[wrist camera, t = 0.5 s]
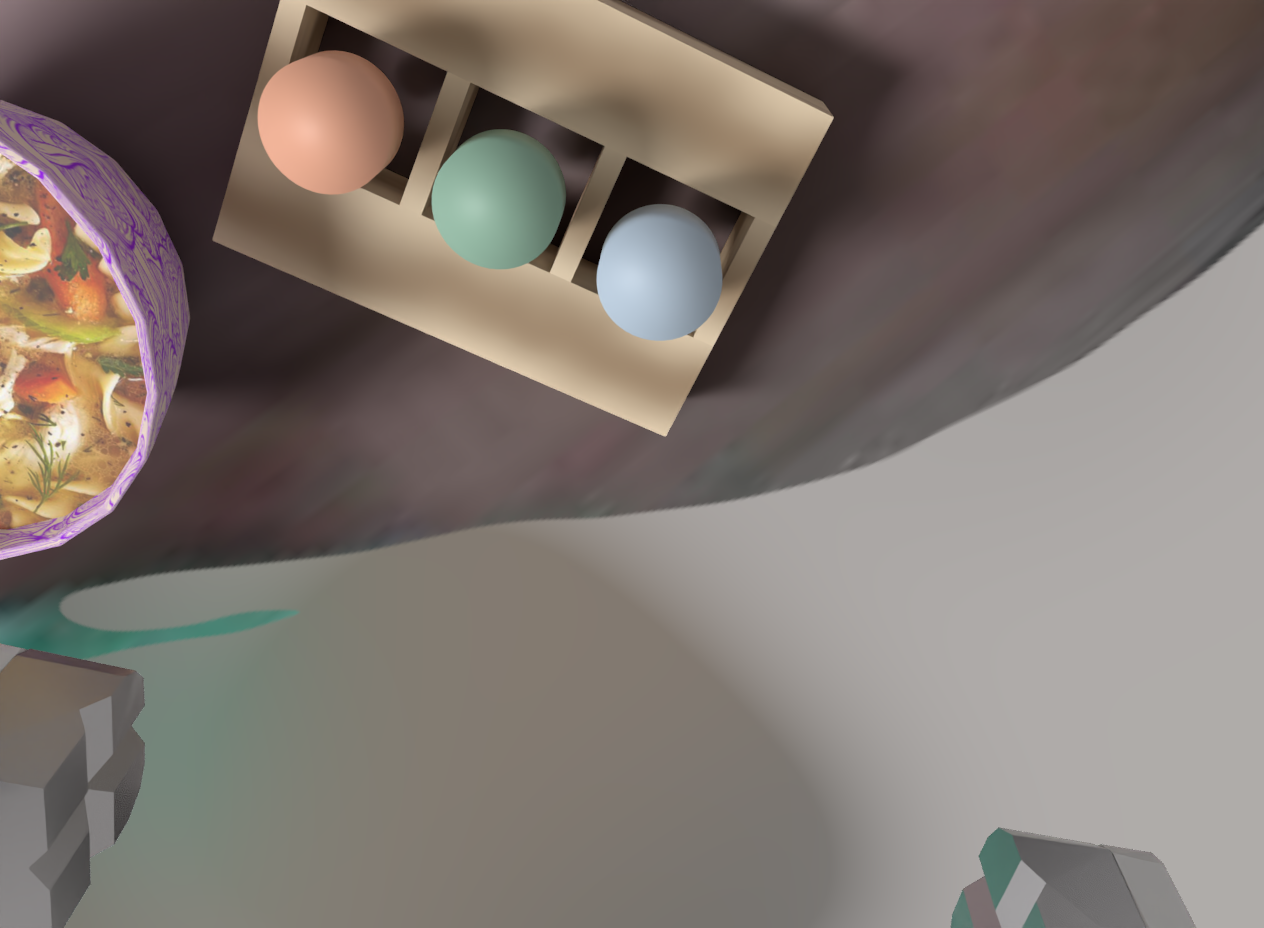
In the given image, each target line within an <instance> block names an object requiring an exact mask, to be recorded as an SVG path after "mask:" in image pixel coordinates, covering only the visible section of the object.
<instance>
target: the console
mask: <svg viewBox="0 0 1264 928" xmlns="http://www.w3.org/2000/svg"><path fill="white" fill-rule="evenodd" d="M329 16H331V17H333V18H335V19H338V20H340V21H342V22H344V23H346V24H348V25H350V26H352V27H354V28H357V29H359V30H361V31H363V32H365V33H367V34H369V35H371V36H373V37H376V38H378V39H380V40H382V41H384V42H386V43H388V44H390V45H392V46H395V47H397V48H399V49H401V50H403V51H405V52H407V53H409V54H411V55H414V56H416V57H418V58H420V59H422V60H424V61H426V62H428V63H430V64H433V65H435V66H437V67H439V68H441V69H443V70H445V71H447V74H446V77H445V80H444V83H443V86H442V88H441V91H440V94H439V97H438V99H437V102H436V105H435V108H434V111H433V113H432V116H431V119H430V122H429V124H428V127H427V130H426V133H425V136H424V138H423V141H422V144H421V147H420V149H419V152H418V155H417V158H416V161H415V163H414V166H413V169H412V172H411V174H410V177H409V179H407V178H405V177H403V176H401V175H398V174H396V173H394V172H392V171H390V170H387V169H385V168H384V169H383V170H382V171H381V172H379V173H378V174H377V175H376V176H375V177H374V178H373V179H372V180H370V181H369V182H368V183H367V184H365V185H364V186H362V187H361V188H359V189H356V190H354V191H351V192H348V193H344V194H333V195H329V194H321V193H317V192H313V191H310V190H307V189H305V188H303V187H301V186H299V185H297V184H295V183H294V182H292V181H291V180H289V179H288V178H287V177H286V176H285V175H284V174H282V173H281V171H280V170H279V169H278V168H277V167H276V166H275V165H274V163H273V162H272V161H271V159H270V157H269V156H268V154H267V152H266V150H265V148H264V146H263V143H262V140H261V137H260V133H259V128H258V107H259V102H260V98H261V95H262V93H263V90H264V88H265V87H266V85H267V83H268V82H269V80H270V79H271V78H272V77H273V76H274V75H275V74H276V73H277V72H278V71H279V70H280V69H282V68H283V67H285V66H286V65H288V64H290V63H292V62H295V61H297V60H300V59H302V58H305V57H307V56H309V55H312V54H315V53H318V50H319V47H320V43H321V40H322V37H323V34H324V30H325V27H326V24H327V20H328V17H329ZM479 87H481V88H483V89H485V90H487V91H489V92H492V93H494V94H496V95H498V96H500V97H502V98H504V99H506V100H508V101H511V102H513V103H515V104H517V105H519V106H521V107H523V108H525V109H527V110H530V111H532V112H534V113H536V114H538V115H540V116H542V117H544V118H546V119H549V120H551V121H553V122H555V123H557V124H559V125H561V126H563V127H565V128H568V129H570V130H572V131H574V132H576V133H578V134H580V135H582V136H584V137H587V138H589V139H591V140H593V141H595V142H597V143H599V144H601V145H603V147H602V150H601V152H600V154H599V156H598V159H597V161H596V163H595V166H594V168H593V170H592V172H591V175H590V177H589V179H588V182H587V184H586V186H585V189H584V191H583V193H582V195H581V198H580V200H579V202H578V205H577V207H576V209H575V211H574V214H573V216H572V218H571V221H570V223H569V225H568V227H567V230H566V232H565V234H564V237H563V239H562V241H561V244H560V246H559V247H557V246H555V245H552V244H549V245H548V247H547V248H546V249H545V250H544V251H543V252H542V253H541V254H540V255H539V256H538V257H537V258H535V259H534V260H532V261H530V262H529V263H527V264H524V265H522V266H519V267H516V268H511V269H489V268H484V267H480V266H478V265H475V264H473V263H471V262H469V261H467V260H465V259H464V258H462V257H461V256H459V255H458V254H457V253H456V252H455V251H453V250H452V249H451V248H450V246H449V245H448V244H447V243H446V242H445V240H444V239H443V237H442V236H441V234H440V232H439V230H438V228H437V226H436V223H435V220H434V216H433V212H432V191H433V186H434V182H435V179H436V177H437V175H438V172H439V171H440V169H441V167H442V166H443V164H444V163H445V162H446V161H447V160H448V159H449V157H450V156H451V155H452V154H453V153H454V152H455V151H456V148H457V146H458V143H459V140H460V138H461V135H462V132H463V130H464V127H465V124H466V122H467V119H468V116H469V114H470V111H471V108H472V106H473V103H474V100H475V98H476V95H477V92H478V90H479ZM833 118H834V117H833V115H832V114H831V113H830V111H829V110H828V108H827V107H826V105H825V104H824V103H823V101H821V100H819V99H817V98H815V97H812V96H810V95H808V94H806V93H804V92H802V91H800V90H798V89H796V88H794V87H792V86H790V85H788V84H786V83H784V82H782V81H780V80H778V79H776V78H774V77H772V76H770V75H768V74H766V73H764V72H762V71H760V70H758V69H756V68H754V67H752V66H750V65H748V64H746V63H744V62H742V61H740V60H738V59H736V58H734V57H732V56H730V55H728V54H726V53H724V52H722V51H720V50H718V49H716V48H714V47H712V46H710V45H708V44H706V43H704V42H702V41H700V40H698V39H696V38H694V37H692V36H690V35H688V34H686V33H684V32H682V31H680V30H678V29H676V28H674V27H672V26H670V25H668V24H666V23H664V22H662V21H660V20H658V19H656V18H654V17H652V16H650V15H648V14H646V13H644V12H642V11H640V10H638V9H636V8H634V7H632V6H630V5H628V4H626V3H624V2H622V1H620V0H280V3H279V6H278V10H277V13H276V17H275V20H274V24H273V27H272V31H271V34H270V38H269V41H268V45H267V49H266V52H265V56H264V59H263V63H262V66H261V70H260V73H259V77H258V80H257V84H256V87H255V91H254V94H253V98H252V101H251V105H250V108H249V112H248V116H247V119H246V123H245V126H244V130H243V133H242V137H241V140H240V144H239V147H238V151H237V154H236V158H235V161H234V165H233V168H232V172H231V175H230V179H229V183H228V186H227V190H226V193H225V197H224V200H223V204H222V207H221V211H220V214H219V218H218V221H217V225H216V228H215V232H214V235H213V239H212V241H214V242H217V243H219V244H221V245H224V246H226V247H228V248H231V249H233V250H235V251H238V252H240V253H242V254H244V255H247V256H249V257H251V258H254V259H256V260H258V261H261V262H263V263H265V264H268V265H270V266H272V267H274V268H277V269H279V270H281V271H284V272H286V273H288V274H291V275H293V276H295V277H298V278H300V279H302V280H304V281H307V282H309V283H311V284H314V285H316V286H318V287H321V288H323V289H325V290H328V291H330V292H332V293H335V294H337V295H339V296H341V297H344V298H346V299H348V300H351V301H353V302H355V303H358V304H360V305H362V306H365V307H367V308H369V309H371V310H374V311H376V312H378V313H381V314H383V315H385V316H388V317H390V318H392V319H395V320H397V321H399V322H402V323H404V324H406V325H408V326H411V327H413V328H415V329H418V330H420V331H422V332H425V333H427V334H429V335H432V336H434V337H436V338H438V339H441V340H443V341H445V342H448V343H450V344H452V345H455V346H457V347H459V348H462V349H464V350H466V351H468V352H471V353H473V354H475V355H478V356H480V357H482V358H485V359H487V360H489V361H492V362H494V363H496V364H499V365H501V366H503V367H505V368H508V369H510V370H512V371H515V372H517V373H519V374H522V375H524V376H526V377H529V378H531V379H533V380H535V381H538V382H540V383H542V384H545V385H547V386H549V387H552V388H554V389H556V390H559V391H561V392H563V393H565V394H568V395H570V396H572V397H575V398H577V399H579V400H582V401H584V402H586V403H589V404H591V405H593V406H596V407H598V408H600V409H602V410H605V411H607V412H609V413H612V414H614V415H616V416H619V417H621V418H623V419H626V420H628V421H630V422H632V423H635V424H637V425H639V426H642V427H644V428H646V429H649V430H651V431H653V432H656V433H658V434H660V435H662V436H665V437H666V435H667V433H668V431H669V429H670V428H671V426H672V424H673V422H674V420H675V418H676V416H677V414H678V412H679V410H680V409H681V407H682V405H683V403H684V401H685V399H686V397H687V395H688V393H689V392H690V390H691V388H692V386H693V384H694V382H695V380H696V378H697V376H698V374H699V373H700V371H701V369H702V367H703V365H704V363H705V361H706V359H707V357H708V355H709V354H710V352H711V350H712V348H713V346H714V344H715V342H716V340H717V338H718V337H719V335H720V333H721V331H722V329H723V327H724V325H725V323H726V321H727V319H728V318H729V316H730V314H731V312H732V310H733V308H734V306H735V304H736V302H737V300H738V299H739V297H740V295H741V293H742V291H743V289H744V287H745V285H746V283H747V281H748V280H749V278H750V276H751V274H752V272H753V270H754V268H755V266H756V264H757V263H758V261H759V259H760V257H761V255H762V253H763V251H764V249H765V247H766V245H767V244H768V242H769V240H770V238H771V236H772V234H773V232H774V230H775V228H776V226H777V225H778V223H779V221H780V219H781V217H782V215H783V213H784V211H785V209H786V208H787V206H788V204H789V202H790V200H791V198H792V196H793V194H794V192H795V190H796V189H797V187H798V185H799V183H800V181H801V179H802V177H803V175H804V173H805V171H806V170H807V168H808V166H809V164H810V162H811V160H812V158H813V156H814V154H815V153H816V151H817V149H818V147H819V145H820V143H821V141H822V139H823V137H824V135H825V134H826V132H827V130H828V128H829V126H830V124H831V122H832V120H833ZM627 157H629V158H631V159H633V160H635V161H637V162H639V163H641V164H644V165H646V166H648V167H650V168H652V169H654V170H656V171H658V172H660V173H663V174H665V175H667V176H669V177H671V178H673V179H675V180H677V181H679V182H682V183H684V184H686V185H688V186H690V187H692V188H694V189H696V190H698V191H701V192H703V193H705V194H707V195H709V196H711V197H713V198H715V199H717V200H720V201H722V202H724V203H726V204H728V205H730V206H732V207H734V208H736V209H739V210H741V211H742V212H741V214H740V216H739V218H738V220H737V222H736V224H735V226H734V228H733V230H732V232H731V234H730V236H729V238H728V240H727V242H726V243H725V245H724V247H723V249H722V251H721V253H720V259H721V269H722V290H721V295H720V298H719V301H718V303H717V306H716V308H715V309H714V311H713V313H712V314H711V316H710V317H709V318H708V319H707V320H706V321H705V322H704V323H703V324H702V325H701V326H700V327H699V328H697V329H696V330H695V331H693V332H691V333H689V334H688V335H685V336H683V337H680V338H676V339H673V340H665V341H654V340H647V339H643V338H639V337H637V336H634V335H632V334H630V333H628V332H626V331H625V330H623V329H622V328H620V327H619V326H618V325H617V324H616V323H615V322H614V321H613V320H612V319H611V318H610V317H609V316H608V314H607V313H606V311H605V309H604V308H603V305H602V303H601V301H600V298H599V295H598V290H597V269H598V265H596V264H594V263H592V262H590V261H588V260H585V259H583V258H582V256H583V253H584V251H585V249H586V247H587V244H588V242H589V240H590V238H591V236H592V233H593V231H594V229H595V227H596V224H597V222H598V220H599V218H600V215H601V213H602V211H603V209H604V207H605V204H606V202H607V200H608V198H609V195H610V193H611V191H612V189H613V186H614V184H615V182H616V180H617V178H618V175H619V173H620V171H621V169H622V166H623V164H624V162H625V160H626V158H627Z"/></svg>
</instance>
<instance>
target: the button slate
mask: <svg viewBox="0 0 1264 928" xmlns="http://www.w3.org/2000/svg"><path fill="white" fill-rule="evenodd" d="M597 290H598V295H599V298H600V301H601V303H602V305H603V308H604V309H605V311H606V313H607V314H608V316H609V317H610V318H611V319H612V320H613V321H614V322H615V323H616V324H617V325H618V326H619V327H620V328H622V329H623V330H625V331H626V332H628V333H630V334H632V335H634V336H637V337H639V338H643V339H647V340H654V341H665V340H673V339H676V338H680V337H683V336H685V335H688V334H689V333H691V332H693V331H695V330H696V329H697V328H699V327H700V326H701V325H702V324H703V323H704V322H705V321H706V320H707V319H708V318H709V317H710V316H711V314H712V313H713V311H714V309H715V308H716V306H717V303H718V301H719V298H720V295H721V290H722V269H721V259H720V251H719V248H718V244H717V242H716V239H715V237H714V235H713V233H712V232H711V230H710V229H709V227H708V226H707V225H706V224H705V223H704V222H703V221H702V220H701V219H700V218H699V217H697V216H696V215H695V214H693V213H691V212H690V211H688V210H686V209H683V208H681V207H678V206H674V205H667V204H653V205H647V206H644V207H640V208H638V209H635V210H633V211H631V212H630V213H628V214H626V215H625V216H624V217H622V218H621V219H620V220H619V221H618V222H617V223H616V224H615V225H614V226H613V228H612V229H611V230H610V232H609V233H608V235H607V237H606V239H605V242H604V245H603V248H602V252H601V256H600V261H599V265H598V269H597Z"/></svg>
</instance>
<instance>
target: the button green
mask: <svg viewBox="0 0 1264 928" xmlns="http://www.w3.org/2000/svg"><path fill="white" fill-rule="evenodd" d="M565 202H566V187H565V181H564V177H563V174H562V171H561V169H560V167H559V165H558V163H557V161H556V160H555V158H554V157H553V155H552V154H551V153H550V152H549V150H548V149H547V148H545V147H544V146H543V145H542V144H541V143H540V142H538V141H537V140H536V139H534V138H532V137H530V136H528V135H526V134H524V133H521V132H518V131H514V130H507V129H495V130H488V131H485V132H481V133H479V134H477V135H474V136H472V137H471V138H469V139H468V140H466V141H465V142H464V143H463V144H462V145H461V146H459V148H458V149H457V150H456V151H455V152H454V153H453V154H452V155H451V156H450V157H449V159H448V160H447V161H446V162H445V163H444V164H443V166H442V167H441V169H440V171H439V172H438V175H437V177H436V179H435V182H434V186H433V191H432V212H433V216H434V220H435V223H436V226H437V228H438V230H439V232H440V234H441V236H442V237H443V239H444V240H445V242H446V243H447V244H448V245H449V246H450V248H451V249H452V250H453V251H455V252H456V253H457V254H458V255H459V256H461V257H462V258H464V259H465V260H467V261H469V262H471V263H473V264H475V265H478V266H480V267H484V268H489V269H511V268H516V267H519V266H522V265H524V264H527V263H529V262H530V261H532V260H534V259H535V258H537V257H538V256H539V255H540V254H541V253H542V252H543V251H544V250H545V249H546V248H547V247H548V245H549V244H550V242H551V241H552V239H553V237H554V235H555V233H556V230H557V228H558V225H559V223H560V220H561V217H562V215H563V212H564V208H565Z"/></svg>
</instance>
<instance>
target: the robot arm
mask: <svg viewBox="0 0 1264 928" xmlns="http://www.w3.org/2000/svg"><path fill="white" fill-rule="evenodd" d="M144 706H145V700H144V678H143V677H142V676H141V675H140V674H139V673H138V672H137V671H135V670H130V669H125V668H120V667H115V666H111V665H106V664H101V663H96V662H91V661H87V660H82V659H77V658H72V657H67V656H62V655H57V654H53V653H48V652H43V651H38V650H33V649H29V650H26V649H22V648H18V647H13V646H8V645H3V644H0V928H64V926H65V925H66V923H67V922H68V920H69V918H70V917H71V915H72V913H73V912H74V910H75V908H76V907H77V905H78V904H79V902H80V900H81V899H82V897H83V895H84V894H85V892H86V890H87V889H88V887H89V886H90V883H91V881H90V858H91V857H93V856H94V855H97V854H98V853H100V852H102V851H104V850H105V849H107V848H109V847H111V846H113V845H114V844H115V842H116V841H117V839H118V837H119V836H120V834H121V832H122V830H123V828H124V827H125V825H126V823H127V822H128V820H129V817H130V815H131V812H132V809H133V807H134V804H135V801H136V799H137V796H138V793H139V790H140V787H141V781H142V775H143V770H144V763H145V743H144V741H143V740H142V739H141V737H140V736H139V735H138V733H137V732H136V731H135V730H134V728H133V727H132V724H133V723H134V721H135V720H136V718H137V717H138V715H139V714H140V712H141V711H142V709H143V708H144ZM979 859H980V862H981V865H982V869H983V872H984V875H985V876H984V877H982V878H980V879H979V880H977V881H976V882H974V883H972V884H970V885H969V886H967V887H965V888H964V889H963V890H962V892H961V895H960V897H959V900H958V902H957V905H956V907H955V909H954V911H953V914H952V920H951V928H1196V926H1195V924H1194V922H1193V920H1192V918H1191V916H1190V914H1189V912H1188V911H1187V908H1186V906H1185V905H1184V903H1183V901H1182V899H1181V897H1180V895H1179V893H1178V891H1177V889H1176V887H1175V885H1174V883H1173V881H1172V879H1171V877H1170V875H1169V873H1168V871H1167V870H1166V867H1165V866H1164V864H1163V863H1162V861H1160V860H1159V859H1158V858H1157V857H1156V856H1155V855H1154V854H1153V853H1151V852H1145V851H1139V850H1133V849H1126V848H1120V847H1114V846H1108V845H1102V844H1101V845H1095V844H1091V843H1086V842H1080V841H1074V840H1068V839H1062V838H1057V837H1051V836H1045V835H1039V834H1033V833H1028V832H1022V831H1016V830H1011V829H1005V828H998V829H996V830H995V831H994V832H993V833H992V834H991V835H990V836H989V837H988V838H987V840H986V842H985V844H984V846H983V848H982V850H981V852H980V854H979Z"/></svg>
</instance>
